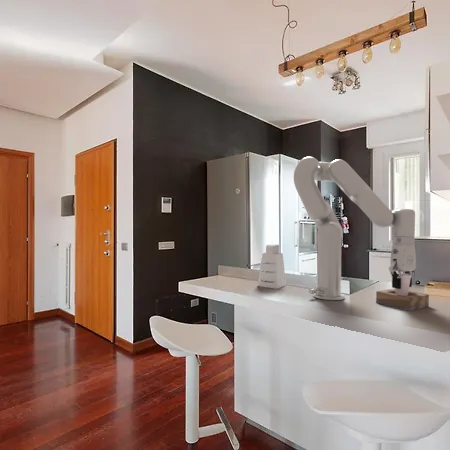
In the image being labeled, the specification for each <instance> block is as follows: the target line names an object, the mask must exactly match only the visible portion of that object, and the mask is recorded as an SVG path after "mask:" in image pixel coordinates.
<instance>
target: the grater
mask: <svg viewBox="0 0 450 450" xmlns="http://www.w3.org/2000/svg"><path fill="white" fill-rule="evenodd" d="M284 262H285V261H284V255H283V253H281V252H280V245H279V244H266V245H265V252H264V253H262V254H261V259H260V266H259V272H258V273H259V275H258V280H257V286H258V287H263V288H270V289H280V288H283V287H286V286H287V281H286V272H285V263H284Z"/></svg>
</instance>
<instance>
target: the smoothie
mask: <svg viewBox="0 0 450 450" xmlns="http://www.w3.org/2000/svg"><path fill="white" fill-rule="evenodd" d="M397 274H398V272H397ZM400 278H401V289H397V288H394V289H395V292H396V294H398V295H403V296H408V291H410V290H409V289H410V287H409V285H410V279H411V278H412V279H413V276H412V277H411V274H406V273H404V272H403V271H402V272H401V276H400Z"/></svg>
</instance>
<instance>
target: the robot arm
mask: <svg viewBox="0 0 450 450" xmlns="http://www.w3.org/2000/svg"><path fill="white" fill-rule="evenodd" d="M316 181H319V182H331V183H335V184H336V185H337V186H338V188H340V190H341V191H342V192H343V193H344V194H345V195H346V196H347V197H348V198H349V200H350V201H351V202H352V203H354V204H355V205H357V206H358V207H359V209H361V211H362V212H363V213H364V214H365V215H366V217H368V219H369V221H371V223H372V224H373V225H374V226H375V227H378V228H384V229H385V228H388V227H390V228H391V227H392V235H391V237H392V238H391V239H392V241H391V242H392V243H391V244H392V246H391V251H390V264H389V265H390V266H389V267H388V271H389V272H390V276H391V287H392V288H391V289H395V288H397V289H401V278H400V276H401V272H402V273H406V274H411V277H412V278H411V279H410V285H409V288H412V285H413V276H414V274H413V273H414V271H415V270H416V269H417V254H416V253H417V252H416V247H415V237H416V236H415V234H416V233H415V231H416V212H415V210H414V209H410V208H397V209H390V208H389V207H388V206H387V204H385V202H383V201H382V200H381V198H380V197H379V196H378V195H377V193H375V192H374V191H373V189H372V188H371V187H370V186H369V185H368V184H367V183H366V182H365V180H363V179H362V177H360V176H359V174H358V173H357V172H356V171H355V169H354V168H353V167H351V166H350V164H349V163H348V162H346V161H345V160H343V159H340V158H339V159H335V160H333V161H331V162H329V161H328V162H326V161H319V160H318V159H317V158H315V157H313V156H306V157H303V158H302V159H300V161H299V162H298V163H297V165H296V166H295V169H294V171H293V184H294V187H295V189H296V192H297V194H298V196H299V197H300V200H301V202H302V204H303V206H304V209H305V211H306V213H307V216H308V217H309V218H310V219H311V220H313V222H314V224H315V227H316V229H317V232H316V242H317V244H316V245H317V256H316V259H317V262H316V263H317V264H316V265H317V267H316V269H317V270H316V272H317V273H316V274H317V275H316V285H315V288H310V289H309V290H308V293H309V294H310V295H312V296H313V297H314V298H317V299H319V300H326V301H342V300H344V299H345V294H344V293H341V292H342V291H341V289H342V286H341V285H342V283H341V282H342V238H343V235H344V229H343V227H342V225H341V223H340V222H339V219H338V217H337V215H336V214H335V212H334V210H333V208H332V206H331V205H330V204H329V203H328V201H327V200H325V198H324V196H323V194H322V193H321V192H320V189H319V187H318V185H317V183H316ZM397 273H398V274H397Z"/></svg>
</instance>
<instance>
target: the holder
mask: <svg viewBox="0 0 450 450" xmlns="http://www.w3.org/2000/svg"><path fill="white" fill-rule="evenodd" d="M375 296H376V297H375V298H376V299H375V303H376V304H379V303H380V305H383V304H384V306H387V305H388V306H387V307H391V306H392V308H395V307H396V308H395V309H399V308H400V310H403V309H404V311H407V310H408V311H407V312H410V310H411V311H414V310H415V309H416V310H419V309H425V308H428V307H430V306H429V305H430V303H429V302H430V295H429V294H427V293H422V292H417V291H411V290H409V291H408V296H403V295H398V294H396V292H395V288H390V289H382V290H376V293H375ZM416 310H415V311H416Z"/></svg>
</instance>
